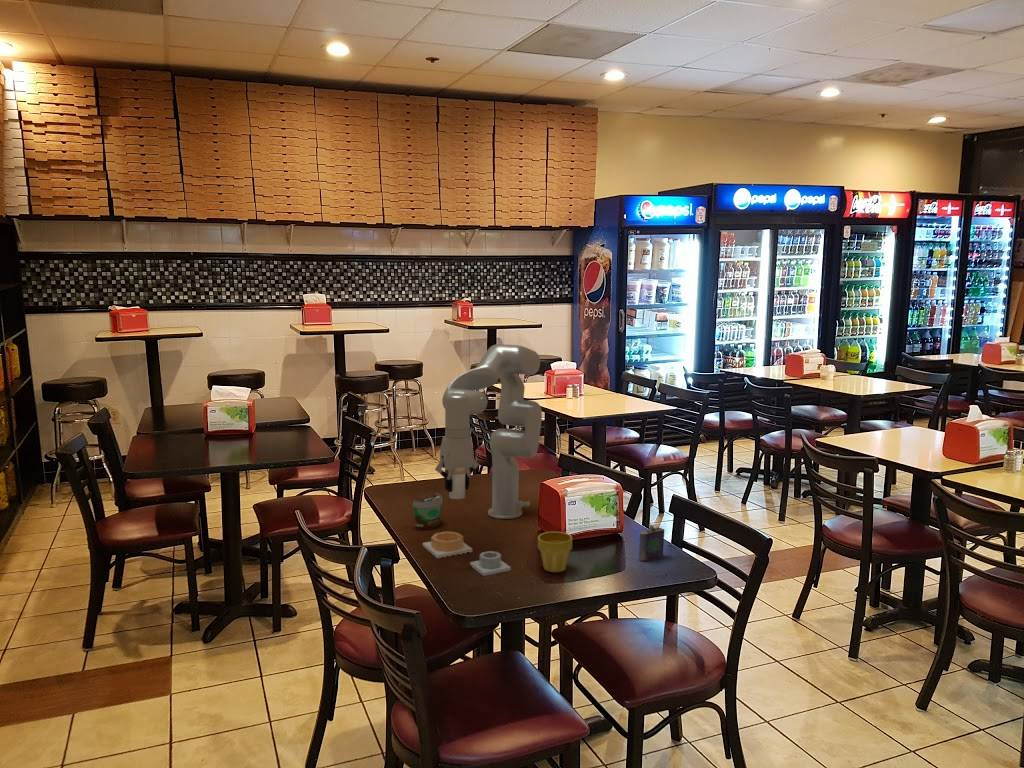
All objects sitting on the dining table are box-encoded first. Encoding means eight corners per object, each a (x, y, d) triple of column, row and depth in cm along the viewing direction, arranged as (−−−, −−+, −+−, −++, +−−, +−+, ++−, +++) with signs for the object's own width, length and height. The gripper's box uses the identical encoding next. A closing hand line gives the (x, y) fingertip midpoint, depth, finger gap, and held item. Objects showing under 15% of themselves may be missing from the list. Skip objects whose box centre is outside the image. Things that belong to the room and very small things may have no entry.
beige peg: (460, 493, 240) (461, 463, 238) (468, 497, 235) (468, 466, 234) (445, 495, 237) (446, 465, 236) (453, 500, 233) (453, 468, 231)
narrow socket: (496, 560, 230) (496, 547, 229) (510, 570, 222) (510, 557, 222) (470, 565, 226) (470, 552, 225) (483, 576, 218) (483, 563, 217)
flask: (642, 562, 230) (643, 528, 228) (636, 559, 232) (637, 526, 231) (665, 557, 235) (666, 524, 233) (658, 553, 237) (660, 521, 235)
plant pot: (536, 561, 230) (537, 530, 228) (570, 561, 230) (571, 531, 228) (537, 574, 219) (538, 542, 218) (573, 575, 219) (573, 543, 218)
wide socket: (456, 539, 247) (456, 528, 246) (472, 551, 237) (472, 539, 236) (422, 545, 241) (422, 534, 241) (437, 558, 231) (437, 546, 230)
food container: (425, 533, 253) (425, 504, 252) (412, 529, 257) (412, 500, 255) (450, 523, 263) (450, 496, 261) (437, 519, 266) (437, 492, 265)
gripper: (475, 428, 241) (475, 483, 244) (427, 433, 232) (427, 490, 235) (487, 432, 235) (486, 489, 237) (437, 438, 226) (437, 496, 229)
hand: (457, 489), depth 236 cm, fingers closed on beige peg, 5 cm apart
